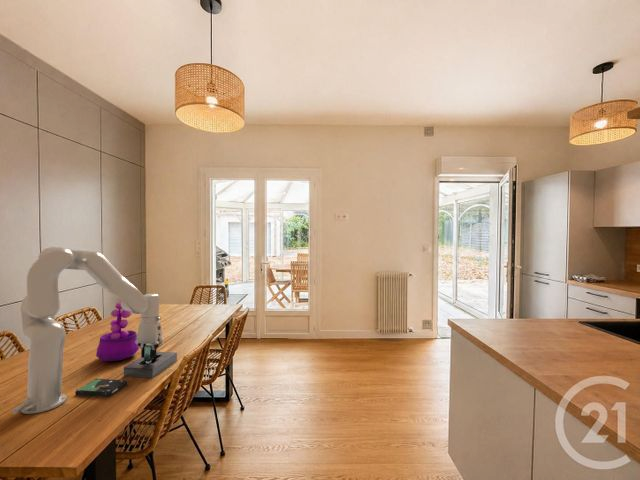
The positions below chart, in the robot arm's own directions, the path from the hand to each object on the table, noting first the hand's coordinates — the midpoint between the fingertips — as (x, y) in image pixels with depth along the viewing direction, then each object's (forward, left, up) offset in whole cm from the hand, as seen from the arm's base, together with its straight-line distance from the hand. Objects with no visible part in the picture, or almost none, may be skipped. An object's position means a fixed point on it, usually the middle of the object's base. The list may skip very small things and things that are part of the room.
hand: (148, 356), depth 140 cm
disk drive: (-20, +7, -7) cm, 22 cm away
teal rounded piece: (0, 0, -6) cm, 6 cm away
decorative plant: (+12, +25, -7) cm, 28 cm away
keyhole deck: (+3, 0, -7) cm, 7 cm away
